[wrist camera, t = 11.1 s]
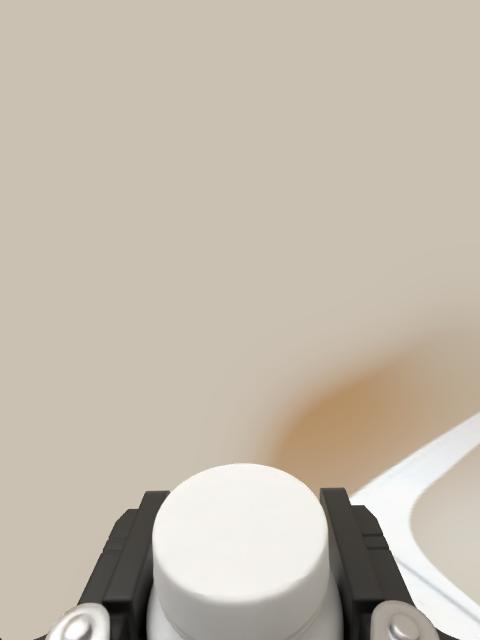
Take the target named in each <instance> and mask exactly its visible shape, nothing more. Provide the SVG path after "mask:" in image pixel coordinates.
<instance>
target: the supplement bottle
mask: <svg viewBox="0 0 480 640" xmlns="http://www.w3.org/2000/svg"><path fill="white" fill-rule="evenodd" d="M152 546H153V562H154V567H153V577H154V582H153V585H152V588H151V591H150V596H149V600H148V606H147V617H146V632H147V640H344V618H343V610H342V603H341V598H340V594H339V590H338V587H337V584H336V581H335V578H334V576H333V574H332V572H331V570H330V565H329V546H328V525H327V520H326V517H325V513H324V511H323V508H322V506H321V504H320V502H319V501H318V499H317V497H316V496H315V495H314V494H313V493H312V491H311V490H310V489H309V488H308V487H307V486H306V485H305V484H304V483H302V482H301V481H299V480H298V479H296V478H295V477H293V476H292V475H290V474H288V473H286V472H283V471H281V470H278V469H276V468H272V467H268V466H263V465H258V464H229V465H223V466H218V467H215V468H211V469H208V470H205V471H202V472H200V473H198V474H196V475H194V476H193V477H190V478H189V479H187V480H185V481H184V482H183V483H181V484H180V485H178V486H177V487H176V488H175V489H174V490H173V491H172V492H171V493H170V494H169V495H168V497H167V498H166V499H165V501H164V502H163V504H162V505H161V507H160V509H159V511H158V513H157V516H156V519H155V523H154V527H153V533H152Z"/></svg>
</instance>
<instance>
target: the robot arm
mask: <svg viewBox="0 0 480 640" xmlns="http://www.w3.org/2000/svg"><path fill="white" fill-rule="evenodd" d="M169 494H170V491H146V492H145V494H144V497H143V499H142V502H141V504H140V506H139V509H128V510H127V511H126V512H125V513H124V514H123V515H122V516H121V517H120V519H118V520H117V521H116V523H115V525H114V527H113V529H112V531H111V534H110V536H109V540H107V542H106V545H105V547H104V548H103V553H101V555H100V557H99V559H98V561H97V563H96V566H95V568H94V570H93V572H92V574H91V576H90V578H89V581H88V583H87V585H86V587H85V589H84V591H83V594H82V596H81V598H80V600H79V602H78V604H77V606H75V607H74V608H72V609H70V610H68V611H67V612H66V613H64V614H63V615H62V616H61V617H60V618H59V619H58V620H57V621H56V622H55V623H54V625H53V626H52V627H51V629H50V631H49V632H48V634H46V635H44V636H42V637H40V638H37V639H34V640H147V632H146V617H147V606H148V600H149V596H150V591H151V588H152V585H153V582H154V577H153V567H154V562H153V546H152V533H153V527H154V523H155V519H156V516H157V513H158V511H159V509H160V507H161V505H162V504H163V502H164V501H165V499H166V498H167V497H168V495H169ZM320 504H321V506H322V508H323V511H324V513H325V517H326V520H327V525H328V546H329V565H330V570H331V572H332V574H333V576H334V578H335V581H336V584H337V587H338V590H339V594H340V598H341V603H342V610H343V618H344V640H459V639H456V638H454V637H451V636H449V635H447V634H445V633H443V632H441V631H440V630H438V629H437V628H435V627H434V626H433V624H432V623H431V621H430V620H429V619H428V618H427V617H426V616H425V615H424V614H423V613H422V612H421V611H420V610H418V609H417V608H416V606H415V605H414V603H413V601H412V599H411V596H410V594H409V592H408V589H407V587H406V585H405V583H404V580H403V578H402V576H401V573H400V571H399V569H398V567H397V564H396V562H395V560H394V557H393V555H392V553H391V551H390V550H389V546H388V544H387V541H386V539H385V537H384V536H383V532H382V530H381V528H380V525H379V523H378V521H377V519H376V517H375V516H374V515H373V514H372V513H371V512H370V511H369V510H368V509H367V508H366V507H365V506H364V505H352V506H351V504H350V501H349V498H348V495H347V493H346V490H345V489H344V488H320ZM0 640H2V639H1V638H0Z"/></svg>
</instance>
